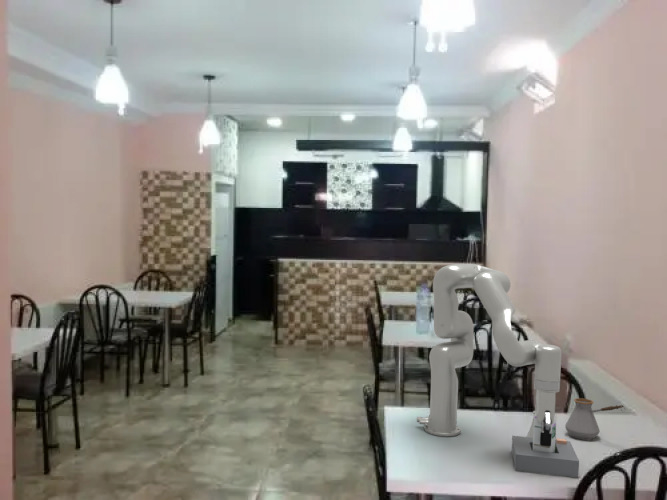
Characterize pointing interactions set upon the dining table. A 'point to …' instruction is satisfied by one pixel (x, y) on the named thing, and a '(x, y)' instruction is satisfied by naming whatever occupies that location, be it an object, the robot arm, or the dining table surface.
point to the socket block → (545, 458)
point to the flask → (531, 429)
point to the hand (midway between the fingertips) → (544, 441)
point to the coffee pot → (585, 420)
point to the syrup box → (536, 436)
